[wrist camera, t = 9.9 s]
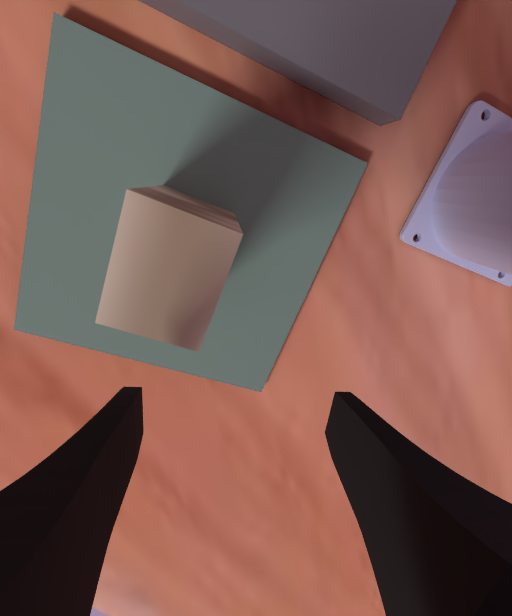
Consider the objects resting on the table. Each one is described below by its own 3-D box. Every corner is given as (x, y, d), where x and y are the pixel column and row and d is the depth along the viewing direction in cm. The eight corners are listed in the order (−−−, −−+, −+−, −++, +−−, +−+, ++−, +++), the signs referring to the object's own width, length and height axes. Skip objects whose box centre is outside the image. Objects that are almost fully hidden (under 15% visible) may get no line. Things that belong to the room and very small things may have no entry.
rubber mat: (363, 163, 18) (367, 163, 17) (260, 386, 23) (261, 392, 22) (60, 19, 14) (54, 12, 13) (20, 325, 19) (13, 329, 18)
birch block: (234, 213, 17) (243, 234, 11) (206, 292, 19) (198, 352, 12) (163, 184, 16) (126, 189, 10) (139, 271, 18) (95, 322, 11)
